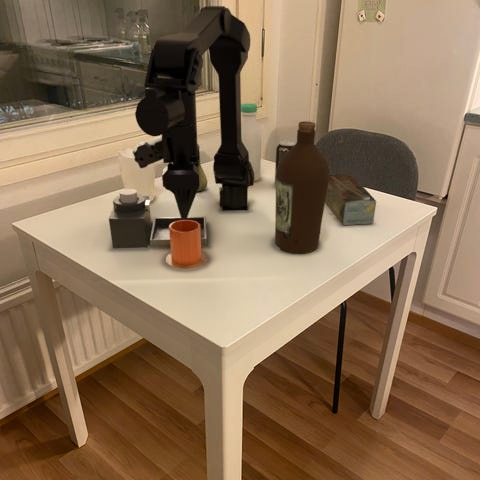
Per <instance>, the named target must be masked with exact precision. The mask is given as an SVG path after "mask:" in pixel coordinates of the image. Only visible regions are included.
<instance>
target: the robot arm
mask: <svg viewBox="0 0 480 480" xmlns="http://www.w3.org/2000/svg"><path fill="white" fill-rule="evenodd" d="M250 49H251V34H250V32H249V29H248V28H247V25H246V23H245V22H243V21H242V20H240V18H238V17H236V16H235V15H234V14H232V13H231V10H230V8H229V7H226V6H224V5H223V6H222V5H205V6H203V7H201V8H200V10H199V13H198V14H197V15H196V16H195V17H194V18H193V19H192V20H191V21H190V22H189V23H188V24H187V25H186V26H185V27H184V28H183V29H182V30H181V31H180V32H177V33H174V34H173V33H172V34H167V35H164V36H161V37H160V38H157V39H156V40H155V42H154V44H153V46H152V48H151V51H150V55H149V56H150V57H149V60H148V65H147V69H146V74H145V80H144V84H143V85H144V86H143V87H144V96H145V97H143V98H142V99H140V101H139V102H137V105H136V109H135V112H134V114H135V115H134V116H135V121H136V123H137V125H138V127H139V128H140V130H141V131H142V132H143V133H145V134H146V135H148V136H150V137H152V138H149V139H147V140H144V141H142V142H140V143H137V144H135V145H134V146H133V147H132V148H133V151H132V152H133V154H134V156H135V159H134V160H135V162H137V163H138V165H139V167H140V168H145V167H147V165H149V164H152V163H154V162H155V163H157V162H159V161H162V160H163V161H162V163H163V164H167V165H166V166H165V167H164V168H163V169H162V174H161V180H162V187H163V188H164V189H165V190H167V191H169V192H171V193H172V194H173V195H174V199H175V203H176V205H177V209H178V212H179V215H180V216H179V217H181V218H187V217H189V213H190V211H191V209H192V206H193V204H194V201H195V198H196V196H197V194H198V192H199V191H198V189H199V186H200V177H199V169H198V166H199V151H200V145H199V144H198V145H199V146H198V145H197V143H198V124H197V96H196V92H197V91H198V90H199V85H198V82H199V78H200V75H201V71H202V69H203V67H204V58H203V55H204V54H205V53H206V52H207V51H208V58H209V62H210V64H211V66H212V68H213V70H214V71H215V72H216V74H217V80H218V81H217V82H218V101H219V102H218V103H219V104H218V105H219V124H220V125H219V126H220V127H219V128H220V145H219V147H218V149H217V151H216V153H215V154H214V156H213V165H212V166H213V167H212V169H213V176H214V182H215V184H216V185H221V186H220V187H219V188H218V189H219V192H218V193H219V207H220V208H221V210H222V211H223V212H241V211H242V212H244V211H245V212H246V211H249V206H248V196H249V193H248V191H249V188H250V187H253V186H254V185H255V181H254V171H253V168H252V166H251V163H250V162H249V153H248V150H247V149H246V147H245V146H244V144H243V142H242V139H241V104H242V90H241V88H242V87H241V85H242V83H241V81H242V79H241V72H242V71H243V68H244V67H245V65H246V62H247V61H248V59H249V52H250Z"/></svg>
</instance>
